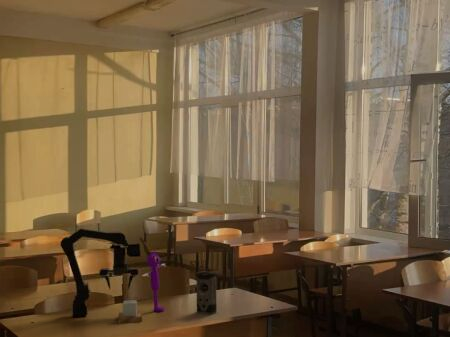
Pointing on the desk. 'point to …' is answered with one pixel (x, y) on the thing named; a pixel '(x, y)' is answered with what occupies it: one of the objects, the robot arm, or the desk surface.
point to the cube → (130, 308)
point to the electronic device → (206, 292)
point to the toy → (154, 277)
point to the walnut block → (129, 318)
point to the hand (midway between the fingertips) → (119, 289)
